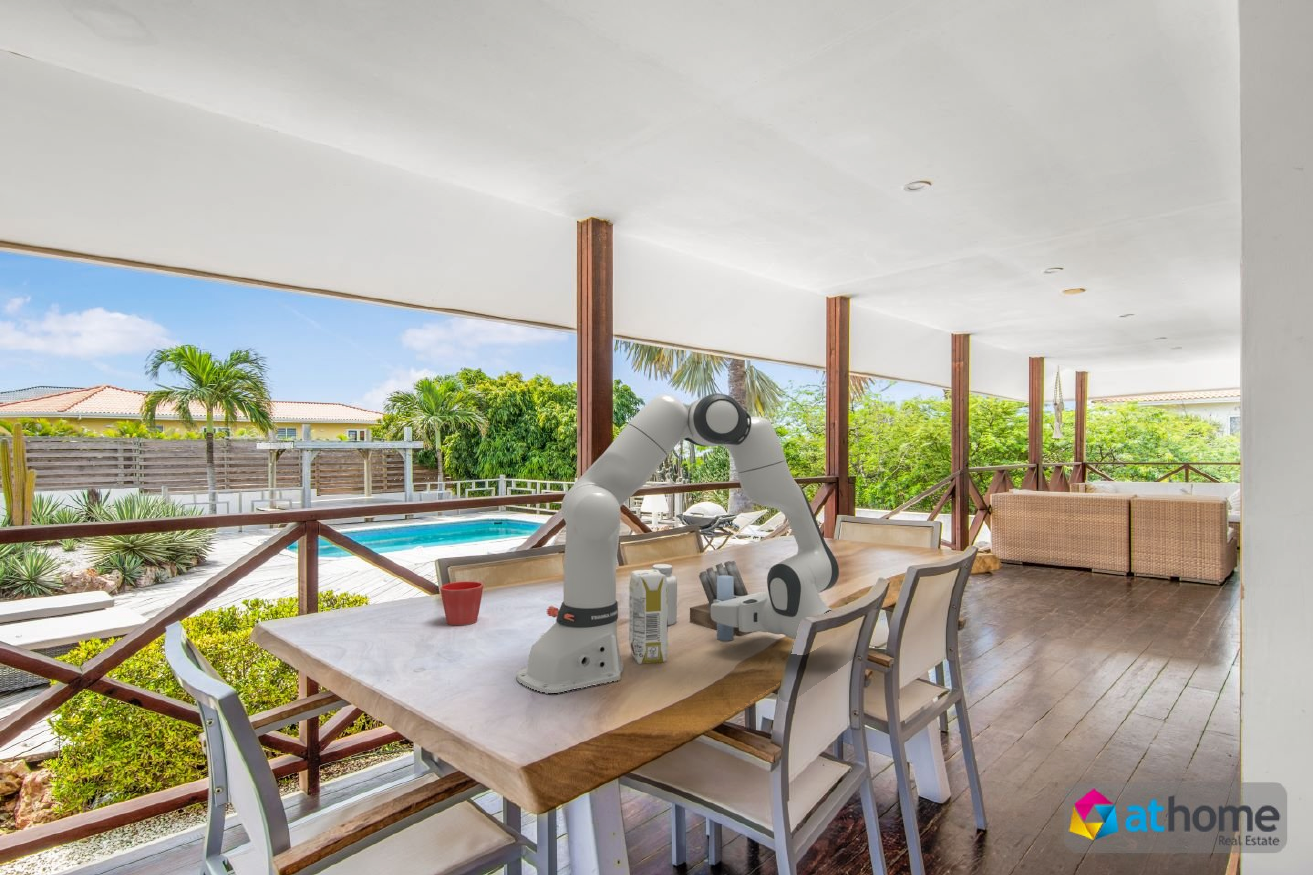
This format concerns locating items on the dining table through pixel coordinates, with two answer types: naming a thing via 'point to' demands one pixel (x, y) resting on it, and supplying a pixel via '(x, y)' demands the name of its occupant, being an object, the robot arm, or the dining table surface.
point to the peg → (724, 593)
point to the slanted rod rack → (709, 583)
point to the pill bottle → (669, 590)
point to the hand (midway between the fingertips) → (722, 600)
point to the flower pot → (461, 602)
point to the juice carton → (648, 616)
